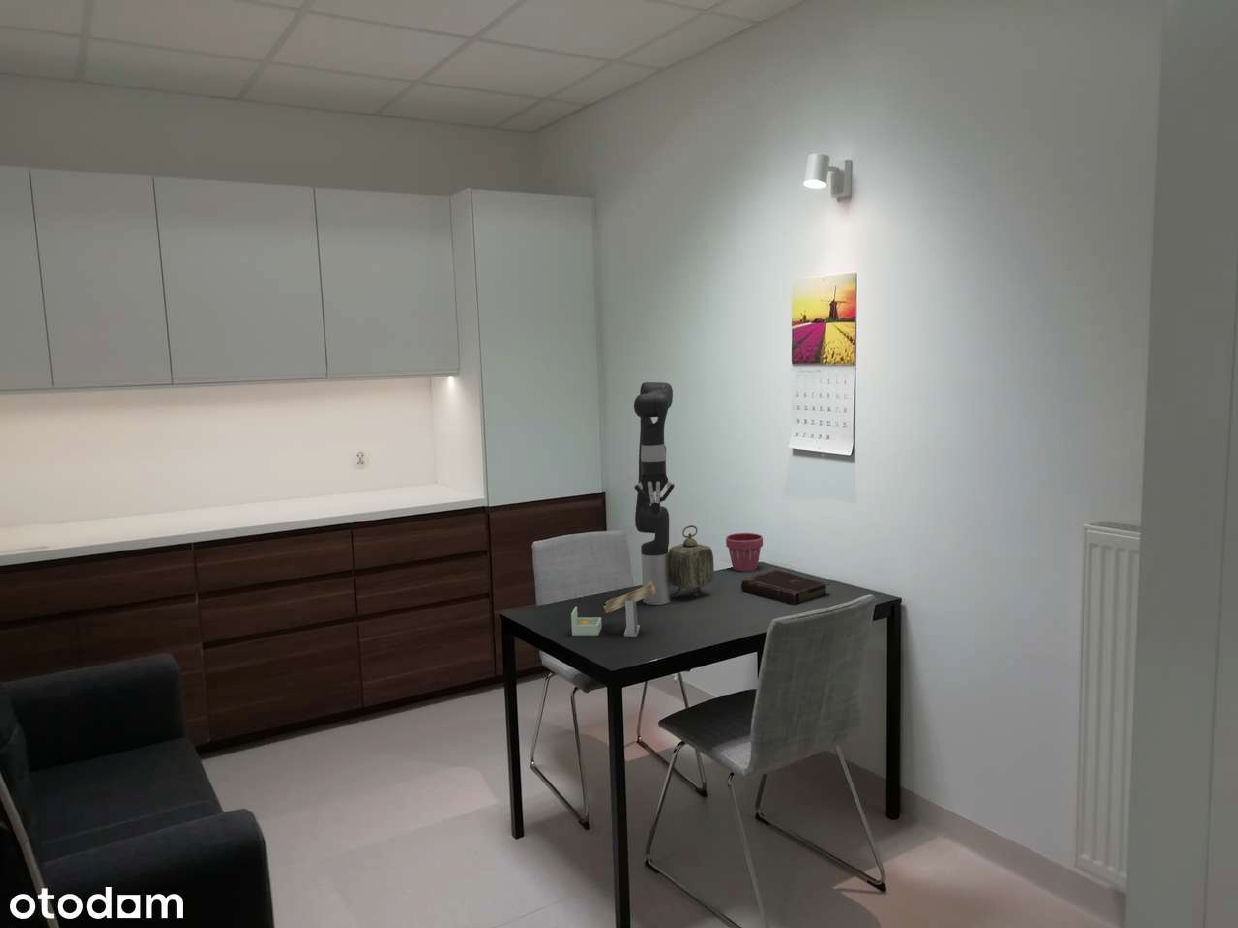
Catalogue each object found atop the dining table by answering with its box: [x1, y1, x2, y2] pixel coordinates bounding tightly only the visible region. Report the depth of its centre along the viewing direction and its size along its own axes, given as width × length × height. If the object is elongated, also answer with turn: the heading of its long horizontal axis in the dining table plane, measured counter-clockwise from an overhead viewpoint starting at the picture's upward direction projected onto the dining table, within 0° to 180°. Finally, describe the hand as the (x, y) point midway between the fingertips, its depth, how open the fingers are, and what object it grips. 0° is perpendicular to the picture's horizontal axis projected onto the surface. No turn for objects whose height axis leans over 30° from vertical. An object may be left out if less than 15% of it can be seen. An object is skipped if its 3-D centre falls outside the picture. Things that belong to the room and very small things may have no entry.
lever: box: [603, 580, 656, 614], centre depth 276 cm, size 16×12×3 cm
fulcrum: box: [623, 600, 641, 638], centre depth 274 cm, size 4×9×11 cm, turn 173°
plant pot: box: [725, 532, 764, 573], centre depth 346 cm, size 14×14×13 cm
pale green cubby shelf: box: [570, 606, 603, 637], centre depth 276 cm, size 8×8×7 cm
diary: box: [740, 569, 831, 606], centre depth 310 cm, size 19×25×5 cm
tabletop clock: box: [668, 524, 715, 598], centre depth 310 cm, size 14×9×25 cm, turn 128°
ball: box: [579, 621, 589, 625], centre depth 276 cm, size 3×3×3 cm
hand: (655, 514), depth 277 cm, fingers closed
